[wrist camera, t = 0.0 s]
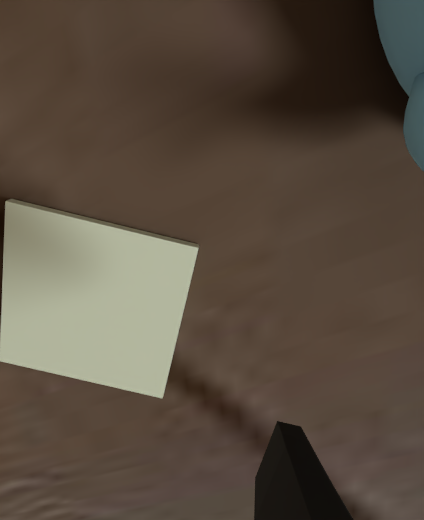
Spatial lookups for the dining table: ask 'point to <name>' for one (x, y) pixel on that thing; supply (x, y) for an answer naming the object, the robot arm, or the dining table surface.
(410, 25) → the teapot
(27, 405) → the dining table surface
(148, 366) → the mat
